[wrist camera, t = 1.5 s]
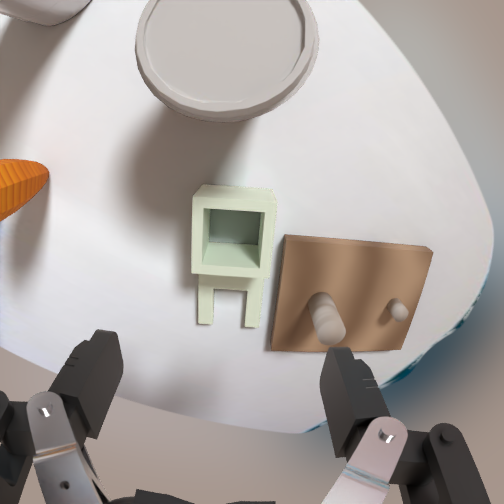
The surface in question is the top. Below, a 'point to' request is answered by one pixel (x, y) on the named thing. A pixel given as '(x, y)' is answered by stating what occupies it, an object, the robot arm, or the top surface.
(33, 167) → the carrot
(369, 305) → the post base
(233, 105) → the disposable coffee cup
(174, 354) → the top surface
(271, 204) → the hollow square block
